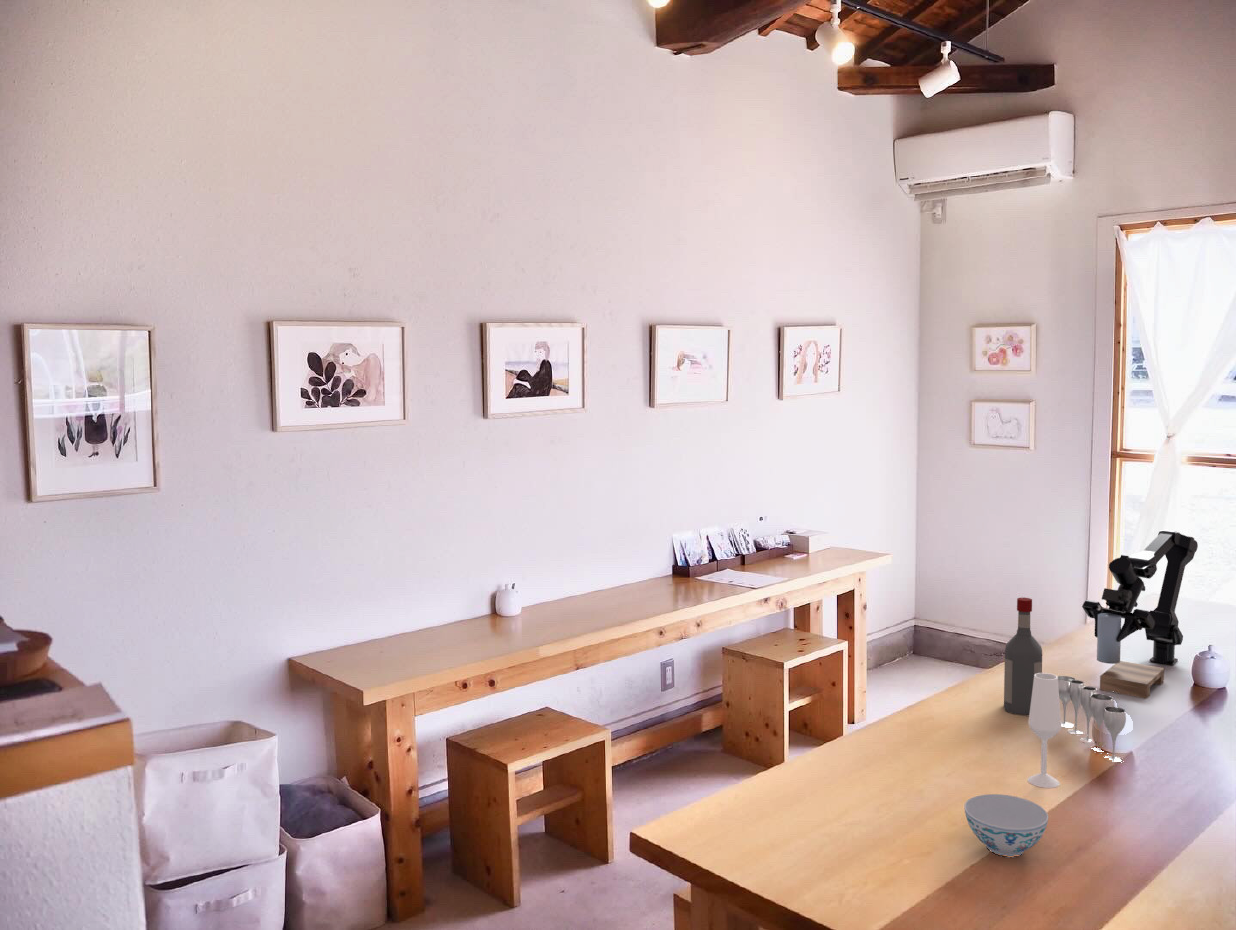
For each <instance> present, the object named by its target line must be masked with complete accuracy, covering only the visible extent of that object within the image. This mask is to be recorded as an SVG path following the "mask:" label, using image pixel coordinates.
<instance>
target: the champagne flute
mask: <svg viewBox="0 0 1236 930" xmlns="http://www.w3.org/2000/svg"><path fill="white" fill-rule="evenodd" d="M1061 721H1062V716H1061V704H1060V699H1059V689H1058V677H1057V675H1056V674H1054V673H1049V672H1042V673H1037V674H1035V675H1034V681H1033V690H1032V698H1031V706H1030V714H1029V716H1028V722H1027V724H1028V726H1029V728H1030V730H1031V731H1032V733H1034V734H1035V735H1036V736H1037V738H1039V739H1041V746H1040V748H1041V749H1040V750H1041V751H1040V753H1041V754H1040V772H1039V773H1036V774H1034V775H1030V776H1029V777H1028V778H1027V782H1028V783H1030V784H1031V785H1033V786H1035V787H1039V788H1045V789H1053V788H1058V787H1060V784H1061V783H1060V781H1059V780H1057V779H1056V778H1055V777H1053V776H1052V775H1050V774H1048V773H1047V767H1048V764H1047V762H1048V741H1049V740H1050V739H1052V738H1054V737H1055V736H1057V734H1059V732H1060V730H1061V729H1062V727H1061Z"/></svg>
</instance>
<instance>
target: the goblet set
mask: <svg viewBox="0 0 1236 930" xmlns="http://www.w3.org/2000/svg"><path fill="white" fill-rule="evenodd" d="M1056 676H1057V675H1056ZM1057 677H1058V689H1059V701H1061V703H1062V706H1063V707H1062V708H1063V720H1061V728H1067V729H1068V730H1067V734H1070V735H1072V734H1083V732H1084V731H1082V730H1080V729H1078V727H1077V726H1078V725H1077V724H1078V713H1079V709H1080V707H1082V709H1083V712H1084V713H1085V717H1086V724H1087V727H1086V729H1087V732H1086V733H1087V735H1086V736H1087V737H1081V739H1080V738H1079V739H1080V740H1085V741H1087V742H1091V741H1092V739H1093V738H1090V735H1089V733H1090V723H1091V717H1092V718H1093V719H1094V721H1095V723H1096V724H1097V727H1098V728H1099V727H1100V725H1101V723H1103V720H1104V724H1105V725H1104V727H1105V728H1106V730H1107V731H1108V732H1109V735H1110V737H1111V741H1112V742H1111V743H1112V755H1113V756H1109V755H1108V754H1107V755H1108V756H1106V755H1104V756H1105V757H1104V756H1103V757H1104V758H1109V760H1112V762H1111V763H1113V762H1121V761H1122V760H1121V759H1120V758H1122V757H1121V756H1118V755H1115V751H1116V750H1115V748H1116V742H1117V741H1116V740H1117V738H1118V735H1119V734H1121V732H1122V730H1124V728H1125V726H1126V721H1127V716H1126V715H1127V713H1126V710H1125V709H1123V708H1121V707H1117V706H1115V705H1114V697H1113V696H1111V695H1108V694H1107V693H1106V694H1104V693H1098V691H1097V688H1096V687H1093V686H1086V685H1085V682H1084V681H1082V680H1079V679H1076V678H1075V677H1071V676H1066V675H1058V676H1057ZM1070 701H1071V703H1072V705H1073V708H1074V718H1075V719H1074V722H1075V724H1074V723H1072V722H1071V721H1070V722H1069V721H1067V722H1066V714H1067V713H1066V712H1067V711H1066V710H1067V706H1068V703H1070ZM1069 728H1071V729H1069ZM1072 728H1074V729H1072ZM1079 730H1080V731H1079ZM1089 738H1090V739H1089ZM1091 749H1093V750H1094V751H1097V752H1104V751H1102V750H1101V748H1098V747H1097V748H1096V747H1094V748H1091ZM1117 756H1118V757H1117ZM1121 763H1122V762H1121Z"/></svg>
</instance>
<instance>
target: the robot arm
mask: <svg viewBox="0 0 1236 930" xmlns="http://www.w3.org/2000/svg"><path fill="white" fill-rule="evenodd" d="M1198 546H1199V544H1198V542H1197V540H1195V538H1194V537H1193V536H1188V535H1184V534H1182V533H1180V532H1179V531H1175V530H1169V529H1163V530H1162V529H1161V530H1159V531H1158V534H1157V536H1156V537H1155V538H1154V539H1153V540H1152V541H1151V542H1150V543H1149V544H1148V545H1147V546H1146V548H1144V549H1143V550H1142V551H1140V552H1134V553H1133V554H1132V555H1130V556H1129V555H1125V554H1120V557H1116V558H1115V559H1113V560H1111V562H1109V564H1108V570H1109V572H1110V573H1111V576H1112V577H1113V578H1114V580H1115V581H1116V583H1117V584H1119V585H1118V587H1117V589H1111V588H1107V587H1106V588H1103V592H1102V595H1101V600H1104V601H1105V604H1106V605H1107V606H1108V607H1103V606H1102V604H1101V603H1100V601H1095V600H1090V599H1086V600H1084V601H1083V603H1082V606H1081V607H1082V608H1083V611H1084V612H1085V614H1086V615H1087V617H1089V618H1091V619H1094V637H1095V638H1097V627H1098V614H1100V613H1112V614H1117V615H1120V616H1121V619H1124V621H1123V622H1124V623H1123V625H1121V630H1120V632H1119V634H1118V637H1117V642H1120V641H1121V642H1122V641H1123V640H1124V639H1126V638H1127V637H1129V636H1131V634H1133V633H1135V632H1137V631H1141V630H1143V629H1144V631H1145V636H1146V640H1147V641H1153V647H1152V648H1153V649H1152V651H1153V652H1152V657H1151V658H1150V659H1149V660H1148V661H1149V662H1150V661H1151V663H1158V664H1164V665H1171V666H1173V665H1175V663H1177V662H1178V658H1175V655H1176V654H1175V652H1176V651H1175V648H1176V646H1181V645H1182V643H1183V639H1184V635H1183V634H1182V631H1181V630H1180V628H1179V619H1178V617H1177V614H1176V608H1177V603H1178V599H1179V594H1180V590H1181V587H1182V586H1181V585H1182V581H1183V577H1184V573H1185V569H1186V566H1187V565H1188V564H1189V563H1190V562H1191V561H1192V560H1193V559H1194V556H1195V554H1196V553H1197V550H1198ZM1163 557H1165V559H1166V561H1167V564H1166V569H1165V572H1164V577H1163V580H1162V585H1161V588H1160V593H1159V597H1158V602H1157V606H1156V608H1154V609H1153V610H1145V609H1139V608H1137V607H1138V606H1139V605H1138V602H1137V601H1138V600H1139V597H1140V595H1141V592H1145V591H1146V586H1145V582H1144V580H1143V579H1148V580H1149V579H1151V578H1152V577H1154V575H1155V574H1156V572H1157V570H1158V566H1157V564H1158V563H1159V561H1160V560H1161V559H1162V558H1163ZM1142 578H1143V579H1142ZM1134 608H1136V609H1134Z"/></svg>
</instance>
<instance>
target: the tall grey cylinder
mask: <svg viewBox="0 0 1236 930" xmlns="http://www.w3.org/2000/svg"><path fill="white" fill-rule="evenodd" d="M1121 628H1122V618H1121V616H1120V615H1117V614H1112V613H1100V614H1098V627H1097V637H1096V638H1097V639H1096V661H1098V663H1099V662H1100V663H1103V664H1110V665H1114V664H1116V663H1120V661H1121V643H1122V640H1121V641H1120V642H1117V637H1118V634H1119V632H1120V630H1121Z"/></svg>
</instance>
